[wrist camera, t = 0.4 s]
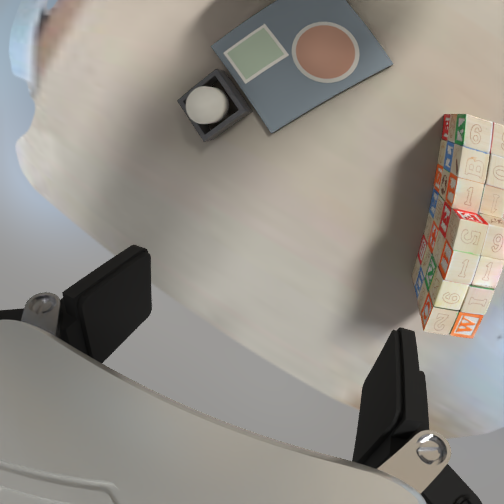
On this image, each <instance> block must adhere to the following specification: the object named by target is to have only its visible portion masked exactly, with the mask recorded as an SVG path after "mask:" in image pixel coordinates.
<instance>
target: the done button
mask: <svg viewBox="0 0 504 504" xmlns="http://www.w3.org/2000/svg"><path fill="white" fill-rule="evenodd" d="M228 110H229V100H228V97H227V95H226V94H225V92H224V91H222V90H221V89H219V88H215V87H207V86H201V87H198V88H196V89H194V90H193V91H192V92H191V93H190V94H189V96H188V98H187V100H186V111H187V114H188V116H189V117H190V119H191V120H193V121H194V122H196V123H199V124H209V123H216V122H219V121H221V120H222V119H223V118H224V117H225V116H226V114H227V112H228Z"/></svg>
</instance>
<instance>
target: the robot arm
mask: <svg viewBox="0 0 504 504" xmlns="http://www.w3.org/2000/svg"><path fill="white" fill-rule="evenodd" d="M151 310H152V303H151V256H150V254H149V253H148V251H147V249H145V248H142V247H139V246H137V245H132V246H130V247H129V248H127V249H125V250H124V251H122V252H121V253H119V254H118V255H116V256H115V257H113V258H112V259H110V260H109V261H107V262H106V263H104V264H103V265H101V266H100V267H99V268H97V269H95V270H94V271H93V272H91V273H90V274H88V275H87V276H85V277H84V278H82V279H81V280H79V281H78V282H77V283H75V284H74V285H72V286H71V287H69V288H68V289H67V290H65V291H64V292H63V298H62V299H61V300H60V299H59V297H58V296H57V295H55V294H53V293H47V292H45V293H39V294H36V295H34V296H32V297H31V298H30V299H29V300H28V301H27V302H26V304H25V308H24V309H13V310H1V311H0V504H482V503H481V501H480V499H479V498H478V497H477V496H476V494H475V493H474V492H473V491H472V490H471V489H470V488H469V487H468V486H467V485H466V483H465V482H464V481H463V480H462V479H461V478H460V477H459V476H458V475H457V474H456V473H455V472H454V470H453V469H452V468H451V467H450V466H449V465H448V464H447V463H448V462H449V460H450V457H451V449H450V445H449V443H448V441H447V440H446V439H445V437H444V436H442V435H441V434H439V433H438V432H435V431H432V430H429V418H428V403H427V391H426V381H425V375H424V372H423V371H419V362H418V353H417V345H416V337H415V332H414V331H411V330H408V329H404V328H398V330H397V331H396V330H393V331H392V332H391V334H390V336H389V338H388V340H387V342H386V343H385V345H384V347H383V349H382V351H381V353H380V355H379V357H378V358H377V360H376V362H375V364H374V366H373V368H372V369H371V371H370V373H369V375H368V376H367V378H366V380H365V382H364V384H363V388H362V396H361V404H360V413H359V420H358V428H357V435H356V442H355V448H354V454H353V460H352V461H348V460H345V459H341V458H337V457H333V456H329V455H326V454H322V453H318V452H315V451H311V450H308V449H304V448H301V447H298V446H294V445H291V444H288V443H284V442H281V441H278V440H275V439H272V438H268V437H265V436H262V435H259V434H257V433H254V432H251V431H248V430H245V429H242V428H240V427H237V426H234V425H231V424H229V423H226V422H224V421H221V420H218V419H216V418H213V417H211V416H209V415H206V414H204V413H201V412H199V411H197V410H194V409H192V408H189V407H187V406H185V405H183V404H180V403H178V402H176V401H174V400H172V399H170V398H167V397H165V396H163V395H161V394H159V393H157V392H155V391H153V390H151V389H148V388H147V387H145V386H143V385H141V384H139V383H137V382H135V381H133V380H131V379H129V378H127V377H125V376H123V375H121V374H120V373H118V372H116V371H114V370H112V369H110V368H109V367H107V366H105V365H103V364H102V363H103V362H104V360H105V359H107V358H108V357H109V356H110V355H111V354H112V352H114V351H115V350H116V349H117V348H118V346H120V345H121V343H123V342H124V341H125V340H126V339H127V337H128V336H129V335H130V334H131V333H132V332H133V331H134V330H135V329H136V328H137V327H138V326H139V325H140V324H141V323H142V322H144V321H145V320H146V318H148V316H149V315H150V313H151Z"/></svg>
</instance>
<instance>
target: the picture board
mask: <svg viewBox="0 0 504 504" xmlns="http://www.w3.org/2000/svg"><path fill="white" fill-rule="evenodd" d="M211 47H212V49H213V50H214V51H215V53H216V54H217V55H218V57H219V58H220V60H221V61H222V62H223V64H224V65H225V66H226V68H227V69H228V71H229V72H230V73H231V75H232V76H233V78H234V79H235V80H236V82H237V83H238V85H239V86H240V88H241V89H242V90H243V92H244V93H245V95H246V96H247V98H248V99H249V101H250V102H251V104H252V105H253V107H254V108H255V110H256V111H257V113H258V114H259V116H260V117H261V119H262V120H263V122H264V123H265V125H266V126H267V128H268V129H269V131H270V132H271V133H274V132H275V131H277V130H278V129H280V128H282V127H283V126H285V125H286V124H288V123H290V122H291V121H293V120H295V119H296V118H298V117H300V116H301V115H303V114H305V113H306V112H308V111H310V110H311V109H313V108H315V107H316V106H318V105H320V104H321V103H323V102H325V101H327V100H328V99H330V98H332V97H334V96H335V95H337V94H339V93H341V92H343V91H344V90H346V89H348V88H350V87H352V86H353V85H355V84H357V83H359V82H361V81H363V80H365V79H366V78H368V77H370V76H372V75H374V74H376V73H378V72H380V71H382V70H384V69H386V68H388V67H390V66H391V65H393V63H392V61H391V60H390V58H389V57H388V55H387V54H386V52H385V51H384V50H383V48H382V47H381V45H380V44H379V43H378V41H377V40H376V38H375V37H374V36H373V34H372V33H371V32H370V30H369V29H368V28H367V26H366V25H365V24H364V22H363V21H362V20H361V19H360V17H359V16H358V15H357V14H356V12H355V11H354V10H353V9H352V7H351V6H350V5H349V4H348V3H347V1H346V0H277V1H275V2H274V3H272V4H270V5H269V6H267V7H266V8H264V9H263V10H261V11H260V12H258V13H256V14H255V15H253V16H252V17H251V18H249V19H248V20H246V21H245V22H243V23H242V24H240V25H239V26H238V27H236V28H235V29H233V30H232V31H231V32H229V33H228V34H227V35H225V36H224V37H223V38H221V39H220V40H219V41H217V42H216V43H215V44H213V45H212V46H211Z"/></svg>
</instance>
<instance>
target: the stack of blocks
mask: <svg viewBox="0 0 504 504" xmlns="http://www.w3.org/2000/svg"><path fill="white" fill-rule="evenodd" d="M503 216H504V125H501V124H498V123H495V122H491V121H488V120H485V119H481V118H478V117H475V116H471V115H468V114H451V115H450V114H444V122H443V132H442V140H441V143H440V150H439V157H438V164H437V169H436V175H435V180H434V189H433V194H432V199H431V204H430V209H429V214H428V218H427V223H426V227H425V231H424V234H423V237H422V241H421V245H420V249H419V252H418V256H417V259H416V262H415V266H414V269H413V273H412V279H413V284H414V287H415V291H416V295H417V303H418V308H419V313H420V315H421V320H422V326H423V330H424V331H425V332H430V333H436V334H442V335H449V334H450V335H451V336H456V337H464V338H474V336H475V333H476V331H477V329H478V327H479V325H480V323H481V320H482V318H483V315H485V314H486V311H487V309H488V307H489V304H490V302H491V299H492V296H493V294H494V288H496V287H497V284H498V281H499V278H500V275H501V272H502V269H503V266H504V220H503Z"/></svg>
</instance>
